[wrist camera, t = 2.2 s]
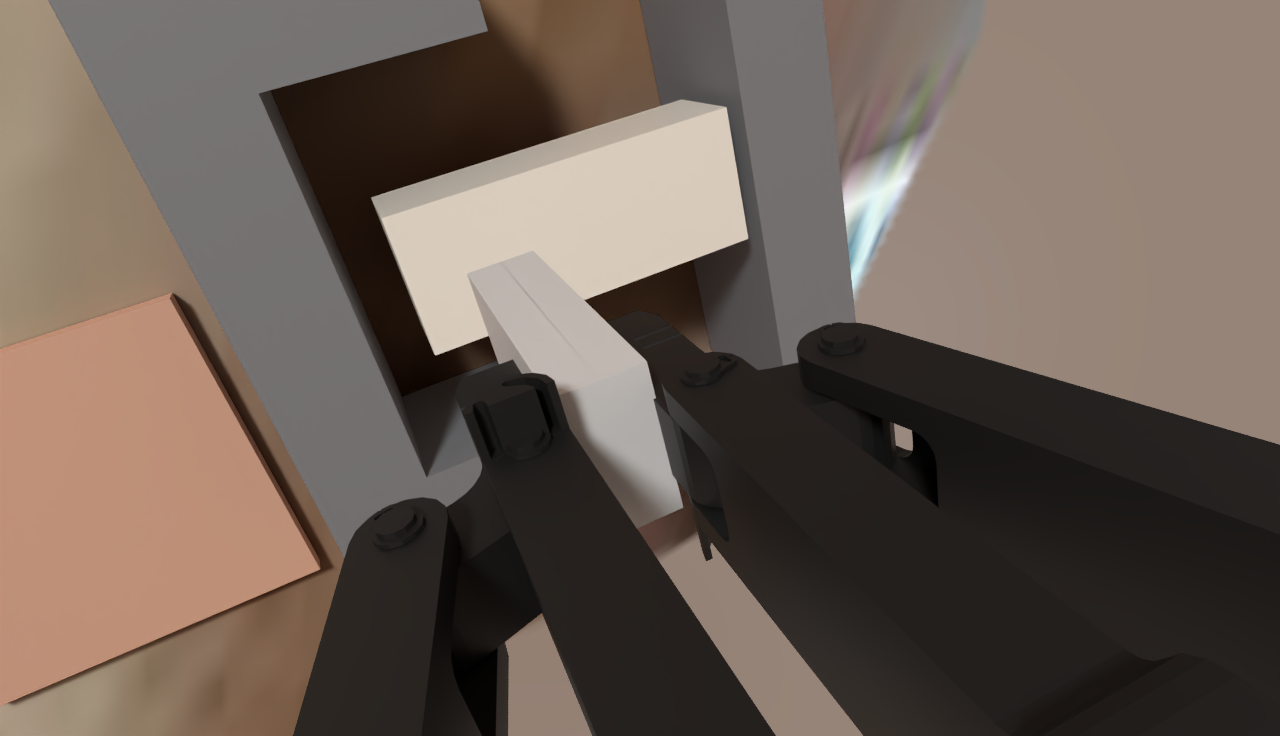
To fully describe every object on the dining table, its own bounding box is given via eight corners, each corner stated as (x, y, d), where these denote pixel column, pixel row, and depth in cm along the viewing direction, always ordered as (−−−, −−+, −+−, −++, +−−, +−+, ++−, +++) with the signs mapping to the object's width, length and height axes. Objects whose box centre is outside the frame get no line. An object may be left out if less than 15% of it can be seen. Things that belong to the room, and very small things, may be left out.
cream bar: (420, 321, 24) (435, 355, 22) (370, 197, 22) (381, 218, 20) (704, 218, 27) (748, 238, 24) (681, 99, 25) (726, 106, 22)
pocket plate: (351, 496, 29) (364, 596, 23) (100, -6, 21) (38, -18, 16) (773, 323, 33) (861, 377, 28) (698, -144, 25) (802, -189, 20)
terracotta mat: (-7, 698, 26) (-13, 711, 26) (-252, 430, 21) (-265, 440, 21) (319, 559, 29) (320, 569, 29) (172, 292, 24) (169, 298, 23)
